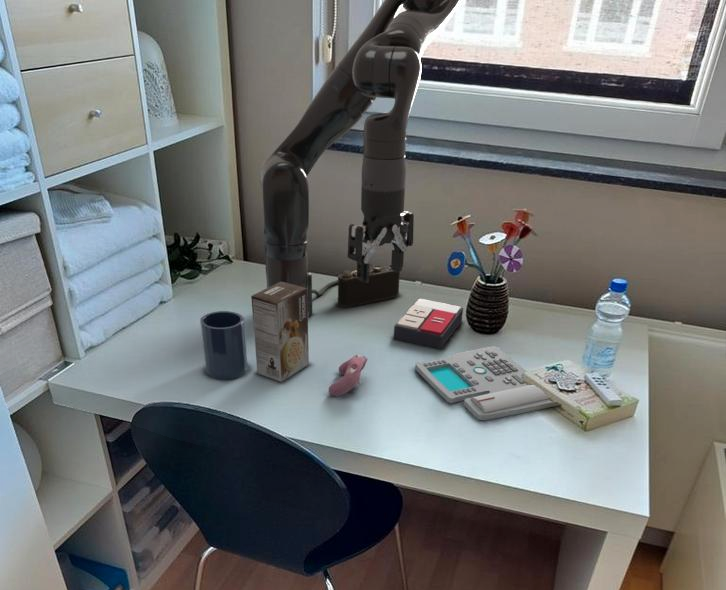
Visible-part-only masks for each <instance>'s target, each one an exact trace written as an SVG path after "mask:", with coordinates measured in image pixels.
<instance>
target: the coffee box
mask: <svg viewBox="0 0 726 590" xmlns="http://www.w3.org/2000/svg"><path fill="white" fill-rule="evenodd" d="M250 296H251V298H250V299H251V308H252V309H251V310H252V322H253V335H254V336H253V337H254V347H255V348H254V349H255V360H256V362H255V363H256V374H258V375H261V376H263V377H266V378H269V379H272V380H275V381H278V382H280V383H283V382H285V381H286V380H287V379H289V378H290V377H292V376H293V375H295V374H296V373H298V372H300V371H301V370H303V369H304V368H306V367H307V366H309V364H310V354H309V353H310V352H309V351H310V350H309V348H310V347H309V317H308V307H307V288H304V287H300V286H297V285H293V284H288V283H285V282H279V283H277V284H275V285H273V286H271V287H268V288H267V287H266V288H264V289H262V290H260V291H258V292H256V293H254V294H252V295H250Z"/></svg>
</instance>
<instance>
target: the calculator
mask: <svg viewBox="0 0 726 590" xmlns="http://www.w3.org/2000/svg"><path fill="white" fill-rule="evenodd" d="M463 313H464V308H463V307H461V306H459V305H454V304H449V303H444V302H440V301H434V300H429V299H424V298H418V299H416V300H415V302H414V303H413V304H411V306H410V307H409V308H408V310H407V311H405V313H404V314H403V315H402V316H401V318H400V319H399V320H398V321H397V322H396V323H395V324H394V326H393V339H394V340H399V341H404V342H409V343H413V344H417V345H421V346H426V347H431V348H434V349H438V350H440V349H442V348H443V347H444V346H445V344H446V343H447V341H448V340H449V339H450V337H451V336H452V334H453V333H454V332H455V330H458V328H459V327H460V325H461V324H462V322H463V321H462V320H463Z"/></svg>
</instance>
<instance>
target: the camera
mask: <svg viewBox="0 0 726 590" xmlns="http://www.w3.org/2000/svg"><path fill="white" fill-rule="evenodd" d="M400 275H401V271H400V272H396V271H393V270H392V269H391V262H390V263H389V265H387V266H386V265H385V266H380V265H374V266H373V268H369V282H367V283H363V282H361V281H359V280H358V278H357V269H356V270H350V269H346V270H344V271H343V274H339V275H337V280H338V284H337V306H339V307H340V308H350V307H351V308H352V307H355V306H360V305H364V304H368V303H369V304H370V303H375V302H379V301H384V300H389V299H394V298H395V299H396V298H398V297H399V296H400V293H399V291H400V279H401V278H400V277H401V276H400Z"/></svg>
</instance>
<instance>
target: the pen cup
mask: <svg viewBox="0 0 726 590" xmlns="http://www.w3.org/2000/svg"><path fill="white" fill-rule="evenodd" d="M199 321H200V322H199V323H200V331H201V339H202V348H203V357H204V358H203V359H204V365H205V370H206V371H205V372H206V374H207V375H208V376H209V377H211V378H213V379H216V380H223V381H226V380H234V379H237V378H240V377H242V376H244V375H246V374H247V372H248V354H247V342H246V328H245V327H246V326H245V318H244V317H243V315H242V314H240V313H238V312H235V311H229V310H218V311H212V312H209V313H206V314H204V315H202V317H201V318H200V320H199Z"/></svg>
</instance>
